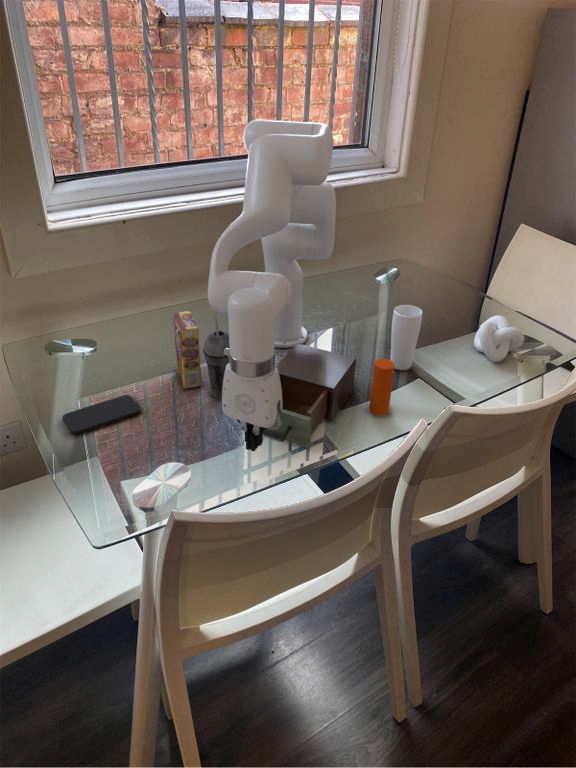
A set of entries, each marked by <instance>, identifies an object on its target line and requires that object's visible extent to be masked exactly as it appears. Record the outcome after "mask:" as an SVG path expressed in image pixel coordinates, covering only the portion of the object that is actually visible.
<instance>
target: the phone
mask: <svg viewBox="0 0 576 768" xmlns="http://www.w3.org/2000/svg"><path fill="white" fill-rule="evenodd" d="M140 412H141V408H140V406H139V405H138V404H137V402H136V401H135V400H134V399H133V397H132V396H131V395H128V394H124V395H121V396H118V397H114V398H111V399H107V400H104V401H102V402H98V403H95V404H92V405H89V406H85V407H82V408H80V409H76V410H73V411H70V412H67V413H64V414H63V415H62V420H63V422H64V425H65V426H66V428H67V429H68V431H69V432H70V433H71V434H72V435H78V434H81V433H84V432H87V431H91V430H93V429H96V428H100V427H102V426H105V425H110V424H111V423H114V422H117V421H121V420H123V419H126V418H130V417H133V416H135V415H138V414H139V413H140Z"/></svg>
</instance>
